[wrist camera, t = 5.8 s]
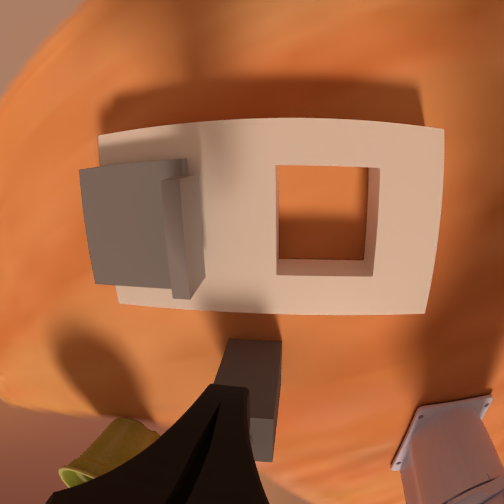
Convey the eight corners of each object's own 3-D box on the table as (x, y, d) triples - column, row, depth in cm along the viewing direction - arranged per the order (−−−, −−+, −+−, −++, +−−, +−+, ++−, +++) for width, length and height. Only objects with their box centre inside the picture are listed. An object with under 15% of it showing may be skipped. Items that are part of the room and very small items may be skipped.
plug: (280, 385, 22) (270, 478, 14) (232, 382, 22) (206, 471, 14) (281, 341, 20) (271, 437, 13) (229, 338, 21) (196, 429, 13)
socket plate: (411, 294, 18) (424, 313, 16) (136, 287, 21) (119, 303, 18) (425, 130, 15) (444, 129, 13) (120, 135, 18) (98, 135, 15)
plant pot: (122, 457, 29) (93, 512, 21) (83, 400, 26) (40, 458, 18) (195, 467, 27) (173, 534, 19) (160, 407, 24) (122, 484, 16)
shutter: (210, 284, 17) (192, 315, 14) (102, 278, 18) (70, 302, 14) (203, 157, 15) (178, 160, 12) (87, 168, 16) (48, 175, 12)
